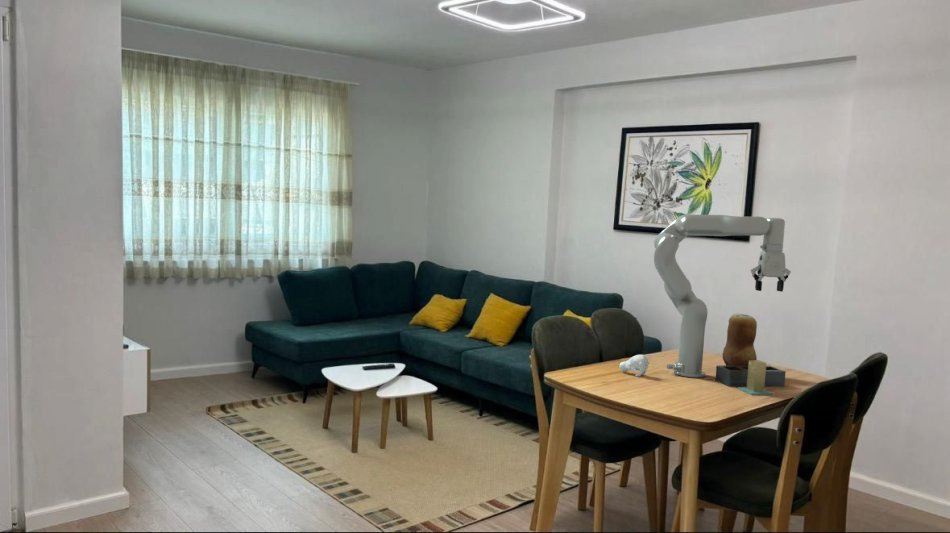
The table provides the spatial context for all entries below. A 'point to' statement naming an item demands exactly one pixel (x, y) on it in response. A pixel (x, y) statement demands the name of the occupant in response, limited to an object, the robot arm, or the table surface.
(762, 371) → the tan rectangular block
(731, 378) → the graphite rack rail
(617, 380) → the table surface
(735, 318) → the butternut squash
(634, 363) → the white animal figurine
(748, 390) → the teal rubber mat
